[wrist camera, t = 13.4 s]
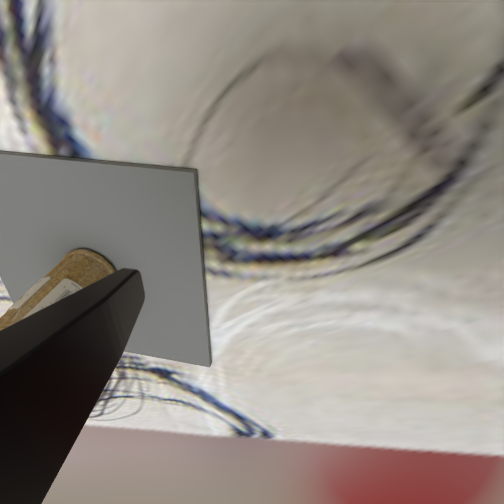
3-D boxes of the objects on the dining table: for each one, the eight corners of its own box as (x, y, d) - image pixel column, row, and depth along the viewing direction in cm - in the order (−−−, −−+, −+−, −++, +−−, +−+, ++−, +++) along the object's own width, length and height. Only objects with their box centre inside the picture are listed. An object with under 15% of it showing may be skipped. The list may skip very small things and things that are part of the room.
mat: (196, 169, 22) (193, 172, 21) (211, 362, 32) (209, 367, 32) (-57, 145, 25) (-64, 147, 24) (32, 329, 35) (28, 333, 34)
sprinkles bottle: (56, 246, 27) (-136, 409, 16) (109, 246, 26) (-57, 421, 15) (79, 293, 30) (-73, 462, 19) (129, 295, 28) (-2, 475, 18)
